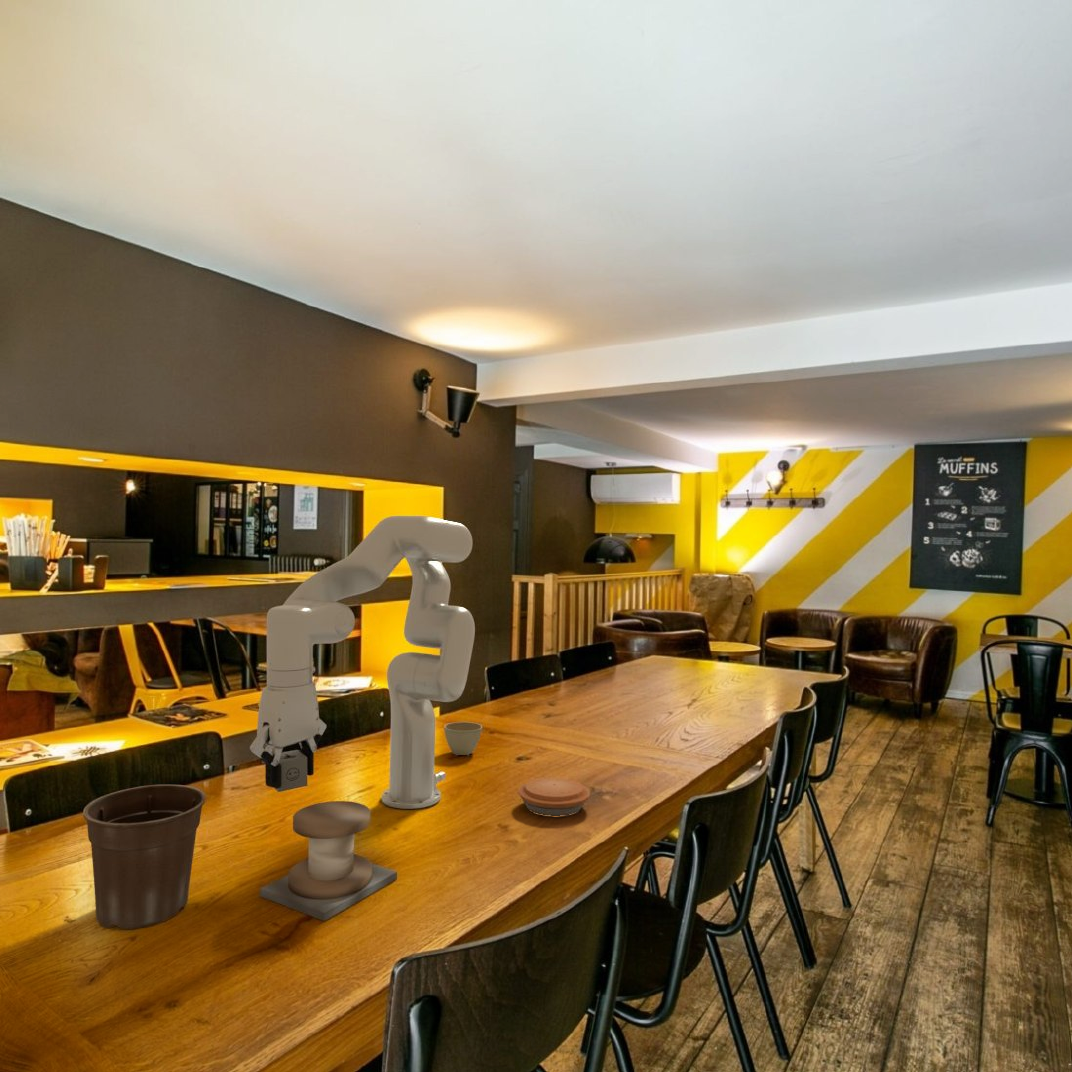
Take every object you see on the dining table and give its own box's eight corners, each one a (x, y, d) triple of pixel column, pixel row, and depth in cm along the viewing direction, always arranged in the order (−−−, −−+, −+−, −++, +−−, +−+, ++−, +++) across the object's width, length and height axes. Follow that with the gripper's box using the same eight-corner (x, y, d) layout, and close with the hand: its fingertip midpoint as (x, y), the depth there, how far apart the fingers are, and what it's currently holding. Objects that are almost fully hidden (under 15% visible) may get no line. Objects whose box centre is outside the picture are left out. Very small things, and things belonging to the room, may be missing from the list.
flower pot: (486, 756, 190) (487, 729, 190) (449, 760, 186) (449, 732, 186) (475, 746, 199) (475, 720, 199) (439, 749, 196) (440, 723, 196)
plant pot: (222, 909, 110) (224, 802, 110) (103, 953, 98) (106, 832, 98) (177, 874, 121) (179, 777, 121) (64, 910, 109) (67, 801, 109)
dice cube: (278, 792, 123) (277, 763, 123) (269, 783, 127) (268, 755, 127) (307, 785, 126) (307, 757, 126) (297, 777, 130) (297, 749, 130)
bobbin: (335, 858, 128) (337, 791, 128) (397, 878, 121) (398, 808, 121) (260, 896, 114) (261, 821, 114) (324, 921, 107) (326, 841, 107)
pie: (528, 824, 145) (528, 799, 145) (509, 798, 160) (510, 775, 160) (600, 818, 150) (601, 794, 150) (576, 793, 164) (576, 770, 165)
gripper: (312, 666, 135) (313, 762, 136) (232, 684, 120) (232, 792, 121) (342, 670, 132) (342, 769, 132) (263, 690, 117) (263, 801, 117)
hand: (290, 779), depth 126 cm, fingers closed on dice cube, 6 cm apart
